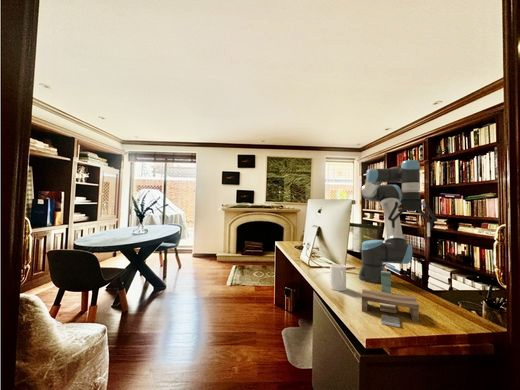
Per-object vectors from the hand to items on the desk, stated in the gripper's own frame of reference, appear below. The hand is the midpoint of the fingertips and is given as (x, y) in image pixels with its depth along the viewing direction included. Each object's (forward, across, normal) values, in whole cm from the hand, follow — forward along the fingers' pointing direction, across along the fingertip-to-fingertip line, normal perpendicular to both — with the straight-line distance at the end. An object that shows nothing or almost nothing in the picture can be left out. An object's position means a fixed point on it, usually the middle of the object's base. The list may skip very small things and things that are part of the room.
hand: (411, 235), depth 117 cm
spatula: (+30, -11, -13) cm, 34 cm away
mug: (+30, -34, -5) cm, 45 cm away
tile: (+30, -10, -33) cm, 46 cm away
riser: (+30, -11, -22) cm, 39 cm away
